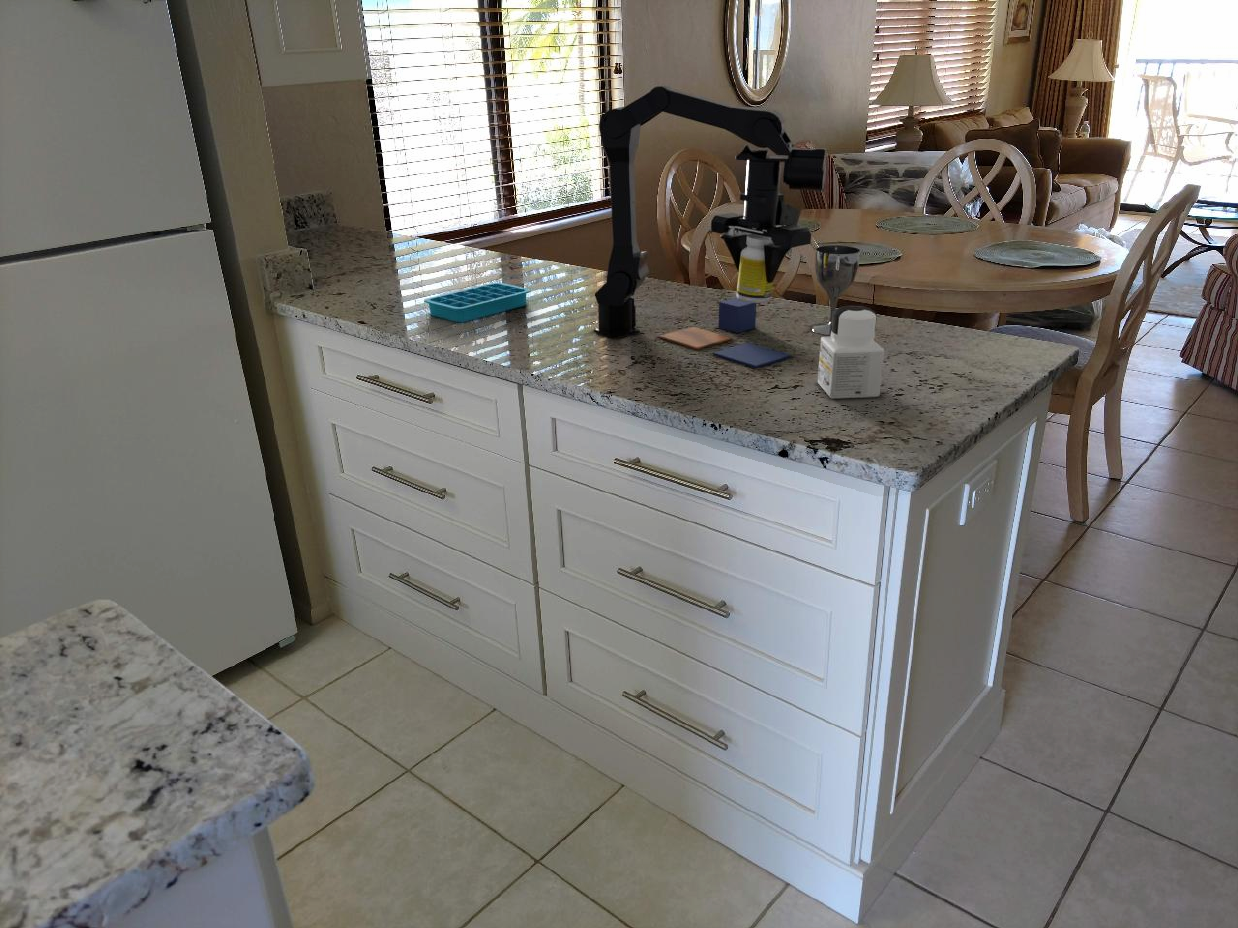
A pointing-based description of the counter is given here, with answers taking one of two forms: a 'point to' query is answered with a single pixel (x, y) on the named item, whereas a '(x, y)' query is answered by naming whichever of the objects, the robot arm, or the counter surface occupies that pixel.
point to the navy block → (737, 315)
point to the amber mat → (695, 338)
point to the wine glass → (835, 275)
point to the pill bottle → (754, 271)
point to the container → (851, 355)
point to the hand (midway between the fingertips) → (756, 279)
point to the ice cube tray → (477, 301)
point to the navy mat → (752, 355)
